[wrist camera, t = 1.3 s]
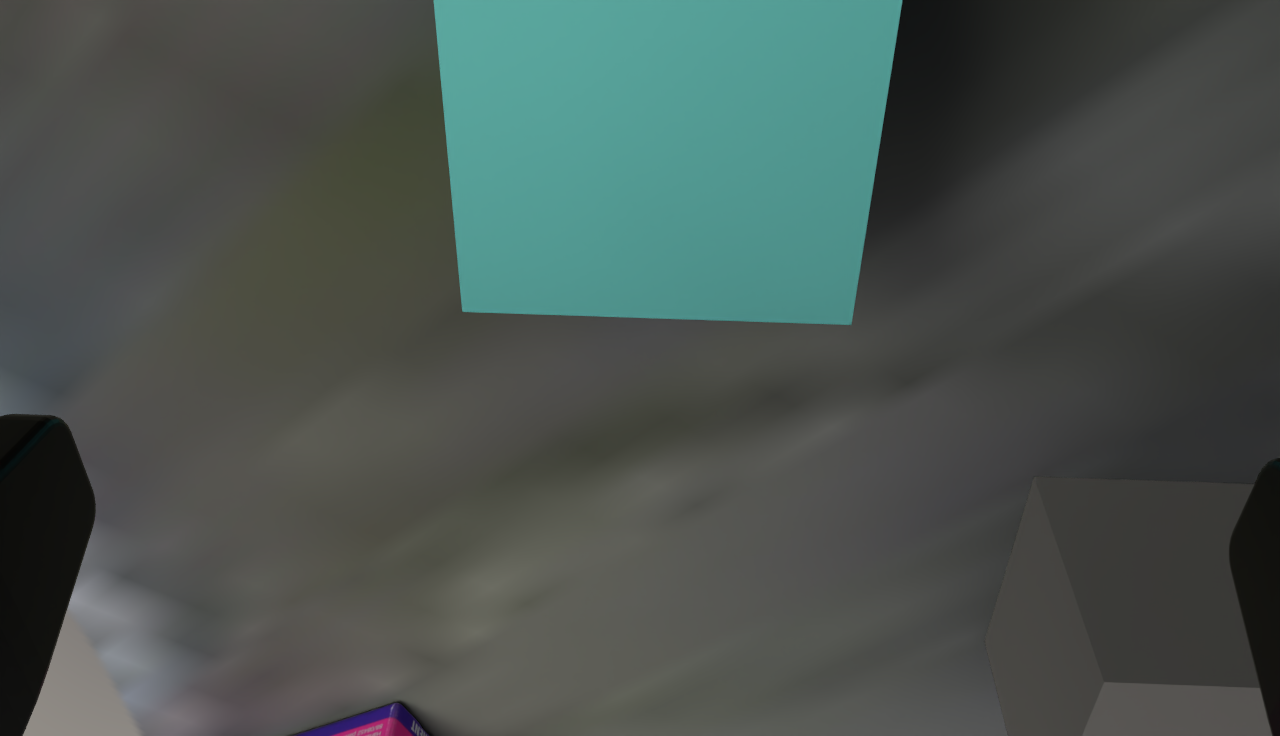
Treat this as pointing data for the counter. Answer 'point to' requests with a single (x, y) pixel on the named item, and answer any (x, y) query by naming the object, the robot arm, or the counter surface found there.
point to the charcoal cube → (1124, 613)
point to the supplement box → (373, 724)
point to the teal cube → (664, 154)
